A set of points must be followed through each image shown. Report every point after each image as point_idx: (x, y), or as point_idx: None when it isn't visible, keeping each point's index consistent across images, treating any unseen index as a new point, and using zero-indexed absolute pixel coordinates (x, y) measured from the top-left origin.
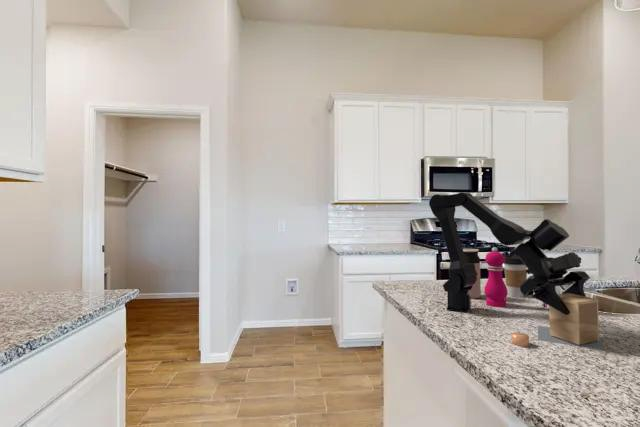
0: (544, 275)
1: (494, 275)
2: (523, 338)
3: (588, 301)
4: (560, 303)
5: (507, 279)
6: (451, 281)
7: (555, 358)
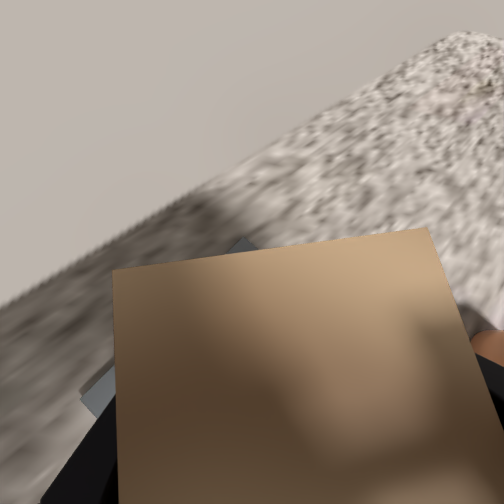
0: None
1: None
2: None
3: (274, 250)
4: (485, 362)
5: None
6: None
7: (437, 239)
